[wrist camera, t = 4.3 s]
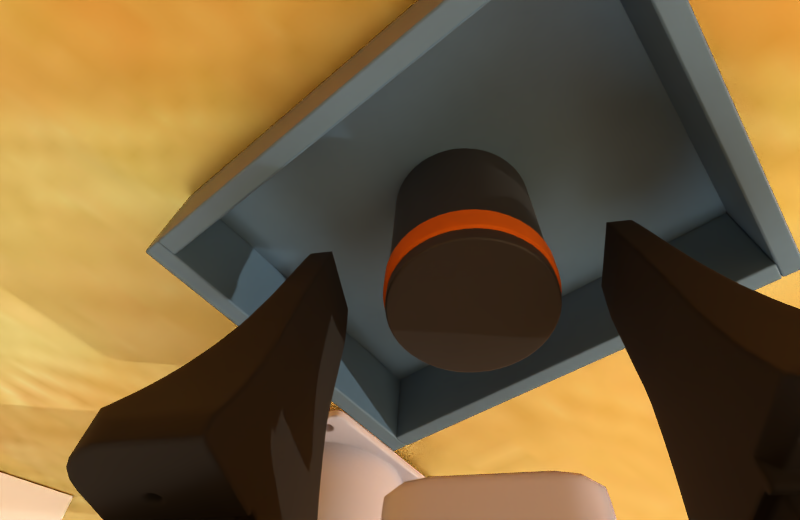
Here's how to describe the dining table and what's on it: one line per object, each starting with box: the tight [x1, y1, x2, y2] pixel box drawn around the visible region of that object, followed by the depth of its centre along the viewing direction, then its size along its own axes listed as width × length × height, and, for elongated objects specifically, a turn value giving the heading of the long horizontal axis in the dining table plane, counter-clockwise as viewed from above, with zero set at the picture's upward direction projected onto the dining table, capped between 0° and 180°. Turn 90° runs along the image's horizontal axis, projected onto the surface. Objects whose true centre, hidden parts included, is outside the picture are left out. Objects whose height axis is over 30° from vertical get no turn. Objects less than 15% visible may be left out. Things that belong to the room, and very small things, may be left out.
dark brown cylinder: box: [383, 148, 562, 372], centre depth 14 cm, size 4×4×5 cm
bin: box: [146, 0, 800, 451], centre depth 15 cm, size 14×11×3 cm
